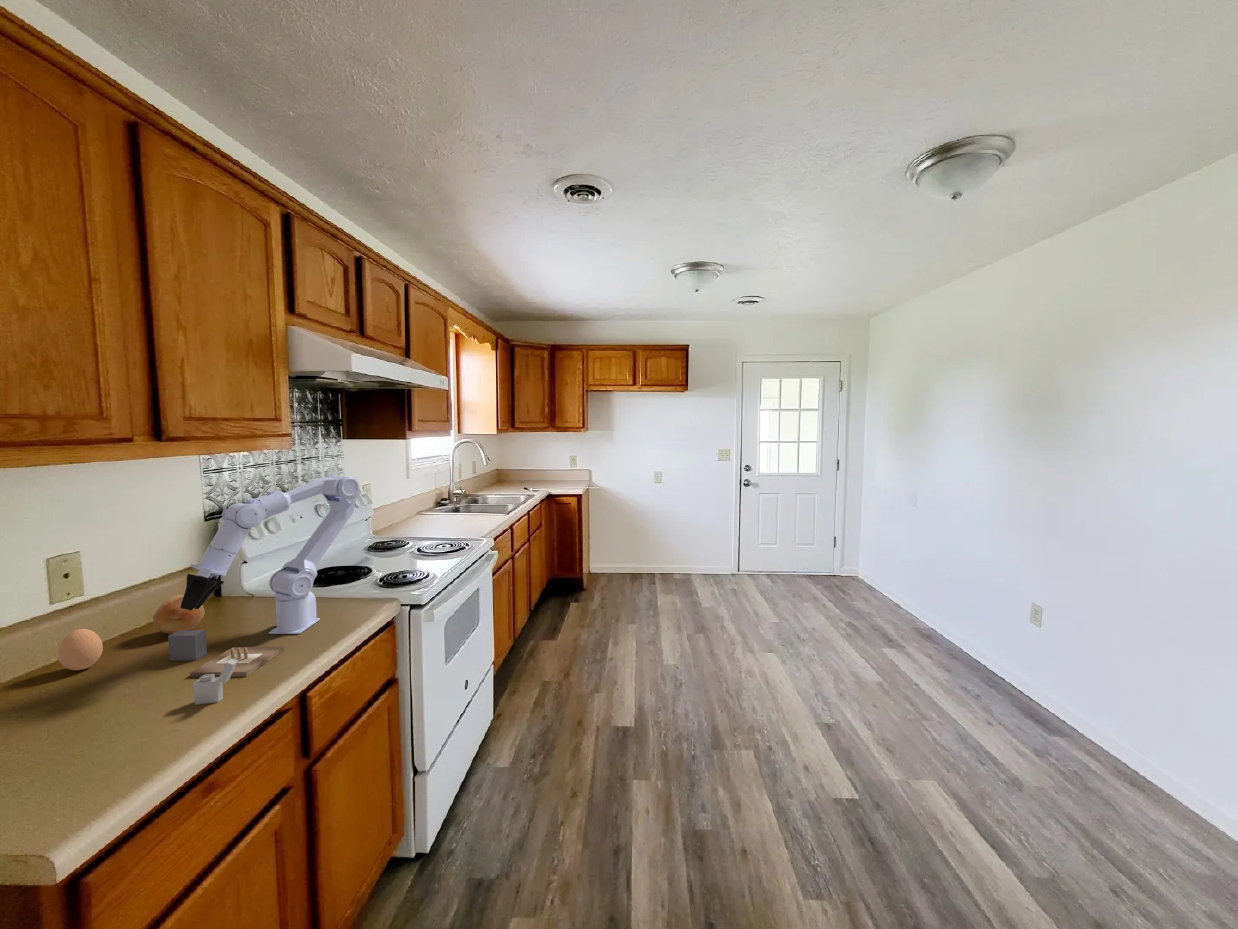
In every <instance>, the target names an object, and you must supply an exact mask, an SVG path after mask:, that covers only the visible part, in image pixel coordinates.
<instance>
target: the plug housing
mask: <svg viewBox="0 0 1238 929" xmlns="http://www.w3.org/2000/svg"><path fill="white" fill-rule="evenodd" d="M206 635H207V633H206V629H192V630H179V631H177V632H175V633H173V634H168V635H167V637H168V639H167V640H168V653H169V661H172V662H173V661H174V662H175V661H177V662H179V661H182V662H183V661H198V660H200V659H201V658H204V657H205V656H207V655H208V650H207V649H208V648H207V647H208V646H207V636H206Z"/></svg>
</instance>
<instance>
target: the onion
mask: <svg viewBox="0 0 1238 929" xmlns="http://www.w3.org/2000/svg"><path fill="white" fill-rule="evenodd" d="M183 597H184V594H180V593H179V594H175V595H174V596H171V597H169V598H168V599H167V600H164V602H162V603H161V605H160V606H159V607H158V608H157V610H156V611H155V612H154V614H153V617H152V618H153V619H152V620H153V621H152V622H153V623H154V625H155V627H156V628H157V629H158V630H159V631H160V632H162V633H165V634H168V635H171V634H173V633H175V632H177V631H179V630H194V628H195V627H196V626H198V625H199V624H200V623H201V621H202V620H203V618H204V616H205V608H204V604H203V605H202V606H201V607H200V608H199V609H193V610H187V609H182V608H180V607H181V603H182V600H183Z"/></svg>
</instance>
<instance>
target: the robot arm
mask: <svg viewBox="0 0 1238 929" xmlns="http://www.w3.org/2000/svg"><path fill="white" fill-rule="evenodd" d="M361 493H362V490H361V487H360V483H359V481H358V480H357V478H356V477H353V476H350V475H348V476H345V475H344V476H342V475H333V474H328V475H326V476H321V477H318V478H316V479H313V480H311V481H309V482H307V483H304V484H302V485H299V486H298V487H295V488H293V489H290V490H288V491H286V492H283V491H281V490H273V489H270V490H267V491H266V494H264V495H261V496H258V497H255V498H252V497H251V498H247V499H246V501H245V503H242V502H237V503H233V504H231V505H229V506H228V508H225V509H223V510H222V513H221V517H222V518H221V519H222V522H221V524H220V526H219V528H218V530H217V531H216V533H215V535H214V537H213V538H212V540H211V542H210V543H209V545H208V547H207V548H206V550H205V552H204V553H203V555H202V556H201V559H200V561H199V562H198V564H197V565H196V564H194V563H190V564H189V567H190V568H194V569H195V570H198V572H197V574H192V573H188V574H186V586H185V587H186V588H185V592H184V594H183V595H184V597H183V600H182V603H181V607H180V608H182V609H187V610H193V609H199V608H200V607H201V606H202V605H203V606H204V603H205V602H206V601H207V600H208V599H209V597H210V596H211V595H212V594H213V593H214V592H215V591H216V590H217V589H218V588H219V587H221V586H222V585H223V584H224V582H225V581H223V580H219V579H218V578H219V577H220V576H223V577H226V576H227V574H228V571H229V569H230V567H231V566H232V563H233V561H234V560H235V559H236V556H237V554H238V553H239V551H240V549H241V547H242V545H243V543H244V542H245V541H246V539H247V537H248V535H249V533H250V532H251V530H252V528H257V527H258V526H259V525H260V524H261V522H262V521H263V520H267V519H269V518H271V517H273V516H277V515H280V514H282V513H283V512H286V511H288V510H289V508H290V506H291V504H294V503H295V504H296V503H297V502H300V501H303V500H306V499H308V498H309V499H310V498H312V497H314V496H315V497H316V496H317V495H322V496H323V497H324V499H325V501H326V502H327V504H328V507H329V509H330V510H329V511H328V513H327V514H326V516H324V518H323V520H322V521H321V522H320V524H319V525H318V526H317V528H316V529H315V530H314V532H313V533H312V535H311V536H310V538H309V539H308V540H306V543H305V544H304V546H303V547H302V548H301V550H300V551H299V553H298V554H297V555H296V556H295V557H294V558H292V559H291V560H290V561H287V562H286V563H284V565H283V566H282V567H281V568H280V569H279V570H277V571H275V572H274V573H273V574H272V575H271V576H270V579H269V582H268V586H269V588H270V590H271V591H272V592H274V597H275V614H276V616H275V618H276V627H274V628H273V629H272V630H270V631H269V632H268V634H269V635H298V634H301V633H303V632H304V631H305V630H307V629H308V628H310V627H311V626H313V625H314V624H315V623H316V624H317V622H318V621H320V620H321V618H320V617H317V601H316V600H317V599H316V595H315V594H314V593H313V592H312V589H313V586H314V581H315V579H316V578H317V576H318V572H317V568H316V567H317V565H319V564H318V563H319V562H320V561H321V560H322V558H323V557H324V555H325V554H326V552H327V550H328V549H329V548H330V547H331V545H332V544H333V542H334V540H335V539H336V538H337V537H338V535H339V534H340V532H341V531H342V529H343V528H344V526H345V525H346V524H347V522H348V521H349V519H350V518H351V517H352V515H353V513H354V511H355V507H356V501H357V499H358V497H359V496H360V494H361Z"/></svg>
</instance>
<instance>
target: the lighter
mask: <svg viewBox="0 0 1238 929" xmlns="http://www.w3.org/2000/svg"><path fill="white" fill-rule="evenodd" d="M237 662H238V660H234V659H230V660H229V661H228V662H227V663H226V664H225V666H224V669H223V671H222V673H221V675H220V677H215V675H214V674H206V675H203V676H201V677H198V679H197V680H196V681H194V682H193V683H192V684H193V696H194V698H193V699H194V705H195V706H196V705H204V704H214V703H219V702H220V701H222V700H223V699H224V690H223V689H224V687H223V684H225V683H226V682H228V681H229V680H230V678H231V675H232V673H233V671H234V669H235V667H236V664H237Z"/></svg>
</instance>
